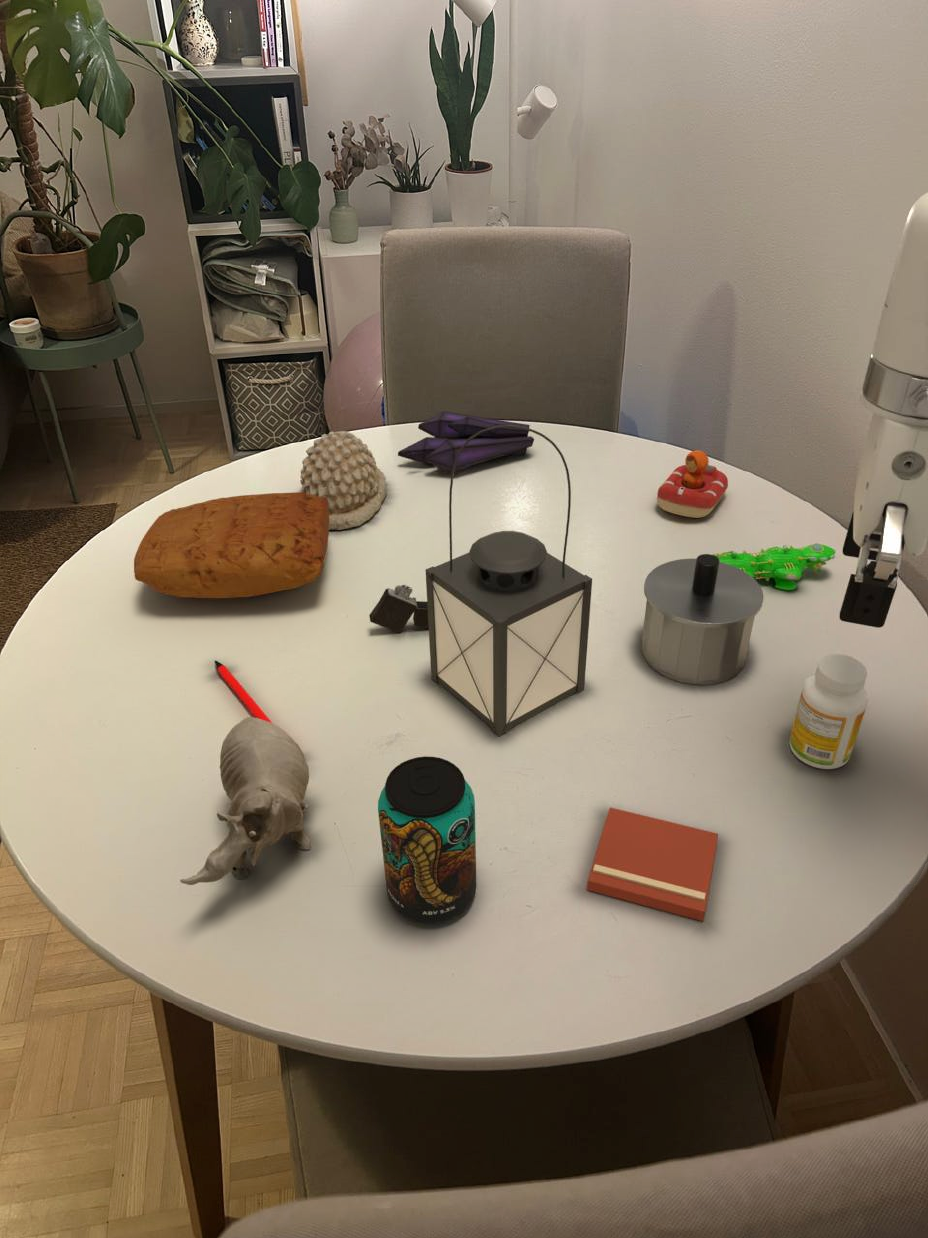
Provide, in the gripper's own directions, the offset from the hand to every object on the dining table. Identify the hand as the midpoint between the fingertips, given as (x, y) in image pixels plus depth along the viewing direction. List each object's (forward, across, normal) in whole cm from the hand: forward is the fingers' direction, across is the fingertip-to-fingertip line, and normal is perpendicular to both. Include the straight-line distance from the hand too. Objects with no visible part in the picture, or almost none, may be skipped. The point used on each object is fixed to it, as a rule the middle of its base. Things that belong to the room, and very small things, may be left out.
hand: (861, 587), depth 73 cm
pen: (+18, -12, +52) cm, 56 cm away
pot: (+18, +11, +12) cm, 24 cm away
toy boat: (+18, +43, +18) cm, 50 cm away
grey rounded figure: (+18, -26, +42) cm, 53 cm away
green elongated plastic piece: (+18, +27, +8) cm, 33 cm away
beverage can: (+18, -26, +28) cm, 42 cm away
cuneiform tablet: (+19, +9, +66) cm, 69 cm away
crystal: (+19, +46, +50) cm, 71 cm away
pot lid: (+10, +11, +13) cm, 20 cm away
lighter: (+19, +6, +42) cm, 47 cm away
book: (+18, -18, +12) cm, 28 cm away
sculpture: (+19, +30, +62) cm, 72 cm away
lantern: (+18, 0, +30) cm, 35 cm away
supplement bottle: (+18, 0, 0) cm, 18 cm away
